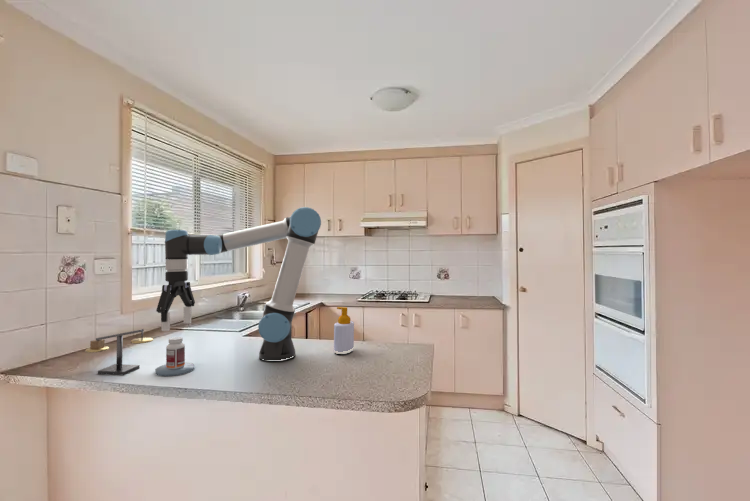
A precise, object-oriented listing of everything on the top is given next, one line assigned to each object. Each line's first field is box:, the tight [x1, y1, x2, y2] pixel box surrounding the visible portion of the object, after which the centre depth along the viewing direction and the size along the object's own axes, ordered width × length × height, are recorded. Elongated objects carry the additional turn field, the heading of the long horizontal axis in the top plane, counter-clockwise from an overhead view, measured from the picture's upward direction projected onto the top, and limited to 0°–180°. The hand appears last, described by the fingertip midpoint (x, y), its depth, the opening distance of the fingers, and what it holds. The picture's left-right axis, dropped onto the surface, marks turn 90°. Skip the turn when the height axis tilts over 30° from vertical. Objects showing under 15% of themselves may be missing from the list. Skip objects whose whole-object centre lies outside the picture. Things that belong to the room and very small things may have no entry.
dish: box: [155, 361, 195, 377], centre depth 140 cm, size 13×13×1 cm
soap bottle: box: [333, 306, 355, 352], centre depth 170 cm, size 13×8×20 cm, turn 162°
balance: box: [85, 328, 154, 376], centre depth 138 cm, size 25×8×16 cm, turn 86°
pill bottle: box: [165, 336, 186, 370], centre depth 140 cm, size 6×6×11 cm
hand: (177, 326), depth 140 cm, fingers open, 13 cm apart
